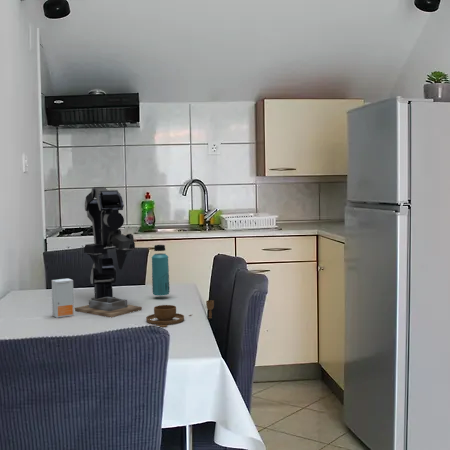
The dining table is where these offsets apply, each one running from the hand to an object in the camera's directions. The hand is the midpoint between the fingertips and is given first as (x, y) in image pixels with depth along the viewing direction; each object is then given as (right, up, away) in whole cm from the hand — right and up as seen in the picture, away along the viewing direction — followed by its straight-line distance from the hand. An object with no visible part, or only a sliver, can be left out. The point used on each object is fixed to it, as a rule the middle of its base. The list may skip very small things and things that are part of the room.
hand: (110, 271), depth 213 cm
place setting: (+25, -15, -21) cm, 36 cm away
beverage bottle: (+16, -12, +17) cm, 26 cm away
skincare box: (-13, -14, -12) cm, 23 cm away
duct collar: (0, -13, -4) cm, 14 cm away
